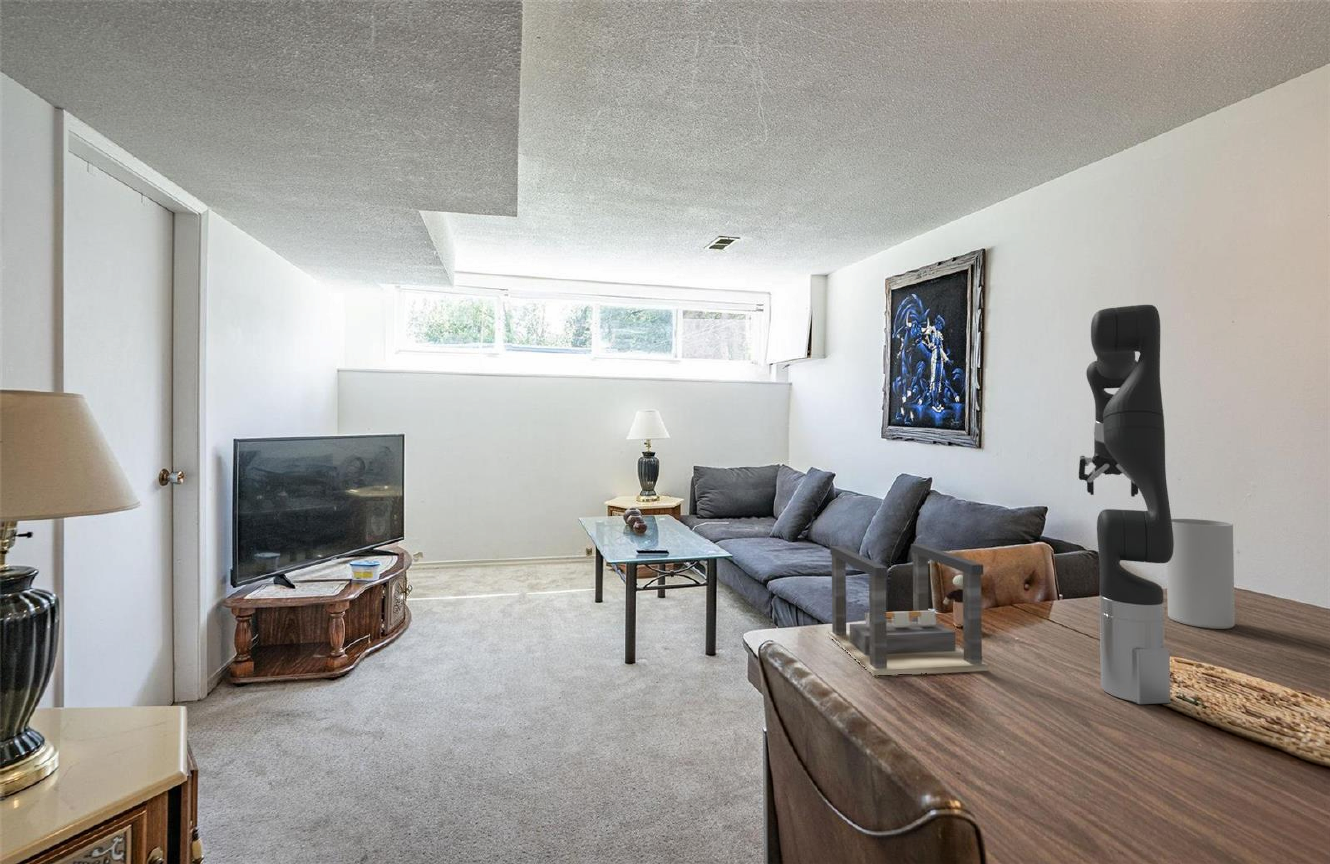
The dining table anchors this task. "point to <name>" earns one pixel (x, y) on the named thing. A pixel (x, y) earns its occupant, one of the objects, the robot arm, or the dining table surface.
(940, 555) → the bar
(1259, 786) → the dining table surface
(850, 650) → the stand
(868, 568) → the bar
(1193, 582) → the cylinder vase
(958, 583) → the grandmother figurine
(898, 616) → the breaker paddles
